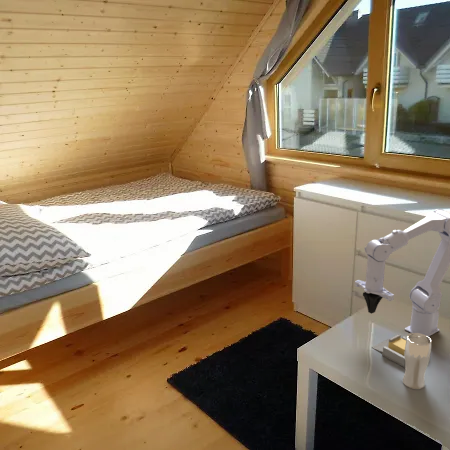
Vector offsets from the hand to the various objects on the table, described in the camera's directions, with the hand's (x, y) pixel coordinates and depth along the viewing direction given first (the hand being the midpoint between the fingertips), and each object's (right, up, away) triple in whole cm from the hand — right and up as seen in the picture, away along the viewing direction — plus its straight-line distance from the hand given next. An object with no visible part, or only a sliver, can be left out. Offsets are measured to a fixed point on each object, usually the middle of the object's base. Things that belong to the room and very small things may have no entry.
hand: (371, 312), depth 159 cm
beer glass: (+6, -17, -21) cm, 28 cm away
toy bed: (+8, -12, -8) cm, 16 cm away
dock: (+7, -13, -6) cm, 16 cm away
